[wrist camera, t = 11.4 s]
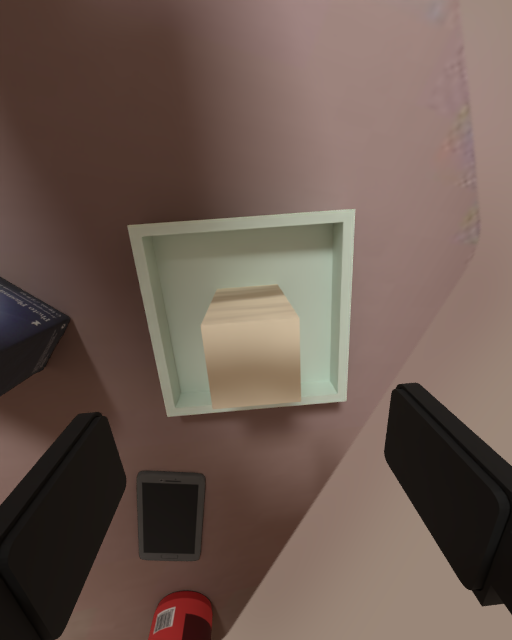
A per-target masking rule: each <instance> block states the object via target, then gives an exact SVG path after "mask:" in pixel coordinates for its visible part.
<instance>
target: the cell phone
mask: <svg viewBox="0 0 512 640" xmlns="http://www.w3.org/2000/svg"><path fill="white" fill-rule="evenodd" d="M204 497H205V476H204V475H203V474H200V473H188V472H165V471H141V472H139V473H138V476H137V511H138V538H139V557H140V559H143V560H155V561H197V560H199V557H200V552H201V539H202V525H203V511H204Z"/></svg>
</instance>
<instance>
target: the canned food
mask: <svg viewBox="0 0 512 640" xmlns="http://www.w3.org/2000/svg"><path fill="white" fill-rule="evenodd" d="M212 615H213V614H212V607H211V603H210V601H209V600H208V599H207V597H205V596H204V595H202V594H200V593H197V592H194V591H179V592H175V593H172V594H169V595H168V596H166V597H164V598H163V599H162V600H161V601H160V603H159V604H158V606H157V609H156V611H155V613H154V617H153V621H152V626H151V630H150V634H149V638H148V640H211V628H212Z"/></svg>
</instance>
